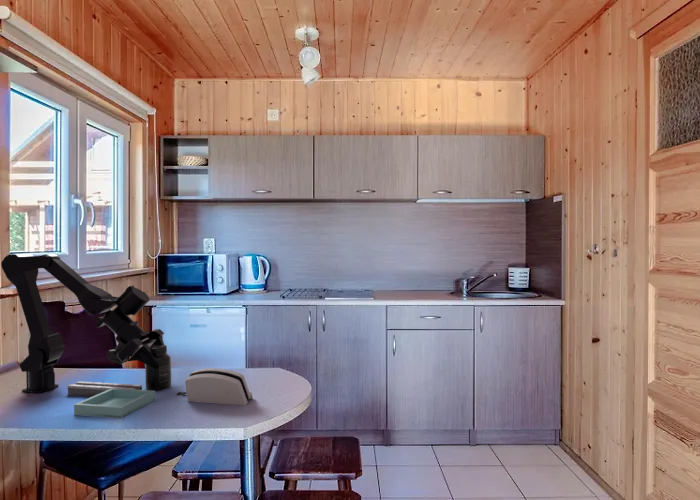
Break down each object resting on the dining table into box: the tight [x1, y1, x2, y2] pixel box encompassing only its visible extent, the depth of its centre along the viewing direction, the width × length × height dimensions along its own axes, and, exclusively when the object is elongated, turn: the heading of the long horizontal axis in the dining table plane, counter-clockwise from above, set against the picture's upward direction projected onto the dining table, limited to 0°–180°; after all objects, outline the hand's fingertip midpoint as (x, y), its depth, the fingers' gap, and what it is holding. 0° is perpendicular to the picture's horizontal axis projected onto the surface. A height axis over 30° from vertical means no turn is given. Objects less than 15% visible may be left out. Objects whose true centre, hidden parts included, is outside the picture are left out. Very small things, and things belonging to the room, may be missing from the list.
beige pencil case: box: [184, 367, 254, 406], centre depth 120 cm, size 17×5×10 cm, turn 78°
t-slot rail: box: [67, 381, 143, 398], centre depth 127 cm, size 20×4×3 cm, turn 78°
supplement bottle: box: [144, 344, 172, 392], centre depth 132 cm, size 7×7×12 cm
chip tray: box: [73, 389, 156, 419], centre depth 117 cm, size 13×13×2 cm
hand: (163, 364), depth 132 cm, fingers closed on supplement bottle, 7 cm apart
